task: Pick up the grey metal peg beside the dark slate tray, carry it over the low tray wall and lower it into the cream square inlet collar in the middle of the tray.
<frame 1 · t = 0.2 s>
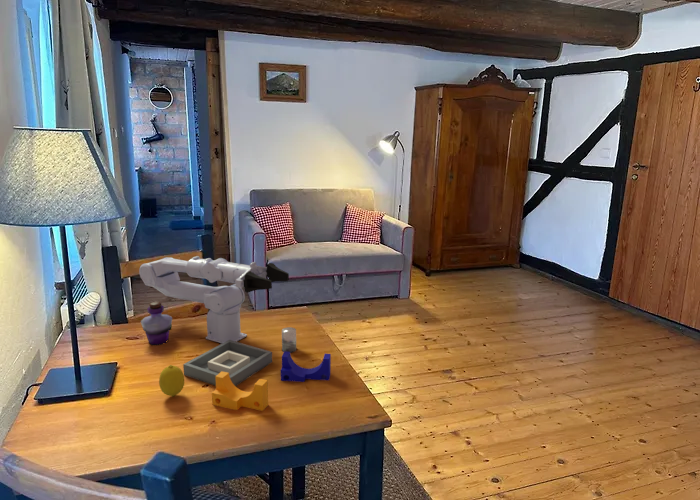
hand: (279, 280, 135), 21 cm above the table, tool horizontal, fingers open, 7 cm apart
lemon: (173, 397, 117), on the table
metal peg: (289, 349, 142), on the table
potion bottle: (158, 342, 146), on the table
walled tray: (229, 368, 131), on the table
blue cradle block: (305, 378, 127), on the table
pipe clamp: (240, 406, 114), on the table
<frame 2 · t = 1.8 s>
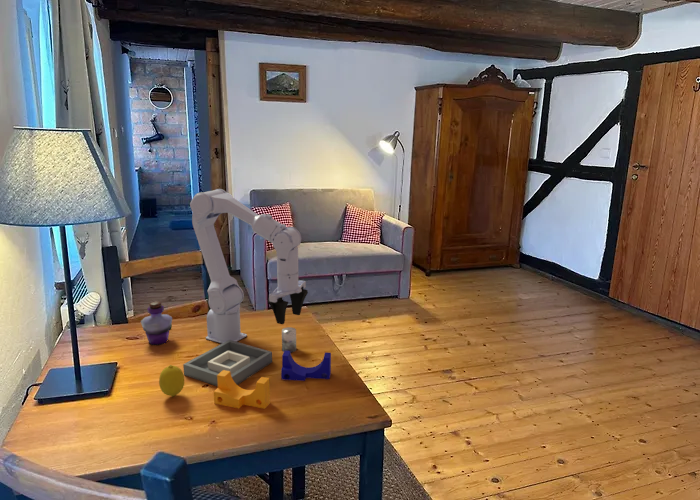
hand: (288, 318, 140), 9 cm above the table, tool pointing down, fingers open, 7 cm apart
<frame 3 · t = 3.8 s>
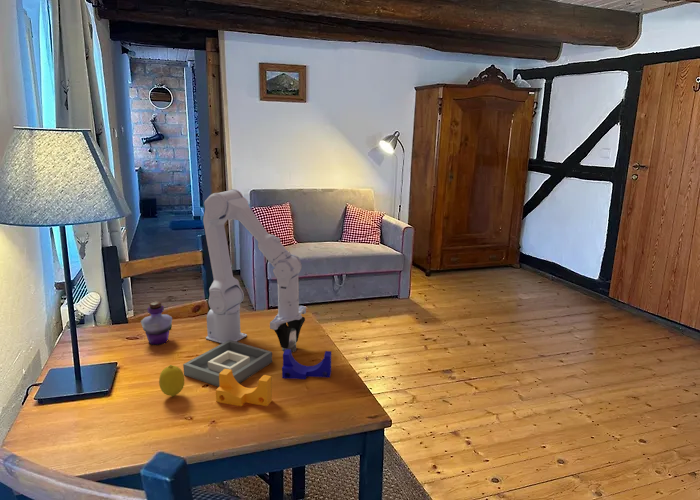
hand: (289, 344, 142), 2 cm above the table, tool pointing down, fingers closed on metal peg, 4 cm apart
metal peg: (289, 349, 142), on the table, touching gripper
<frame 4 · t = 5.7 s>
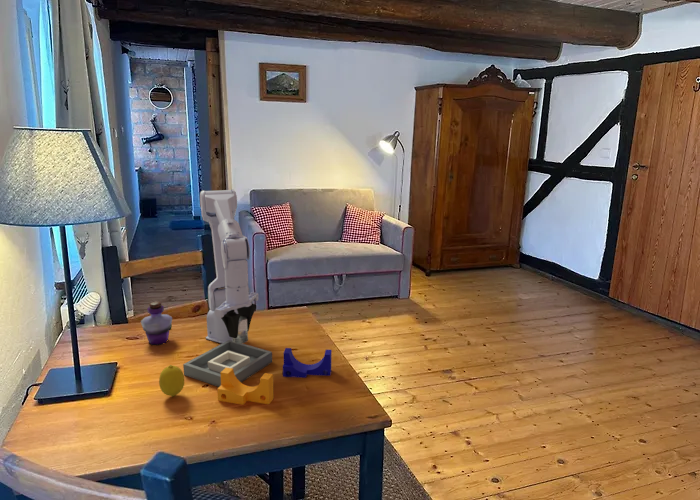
hand: (239, 333, 130), 9 cm above the table, tool pointing down, fingers closed on metal peg, 4 cm apart
metal peg: (240, 340, 131), point 7 cm above the table, touching gripper
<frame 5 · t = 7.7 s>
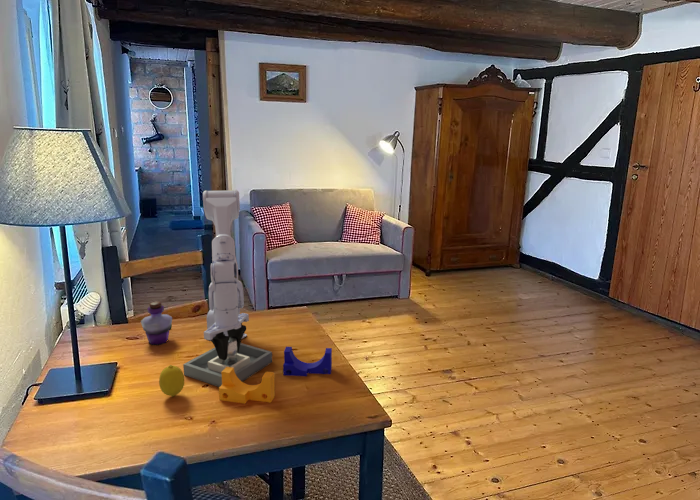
hand: (228, 355, 130), 4 cm above the table, tool pointing down, fingers closed on metal peg, 4 cm apart
metal peg: (229, 361, 130), point 2 cm above the table, touching gripper
pipe clamp: (247, 399, 117), on the table, touching walled tray
when the fingers open (4 cm above the table, at t = 7.8 s): metal peg drops 1 cm, resting on walled tray.
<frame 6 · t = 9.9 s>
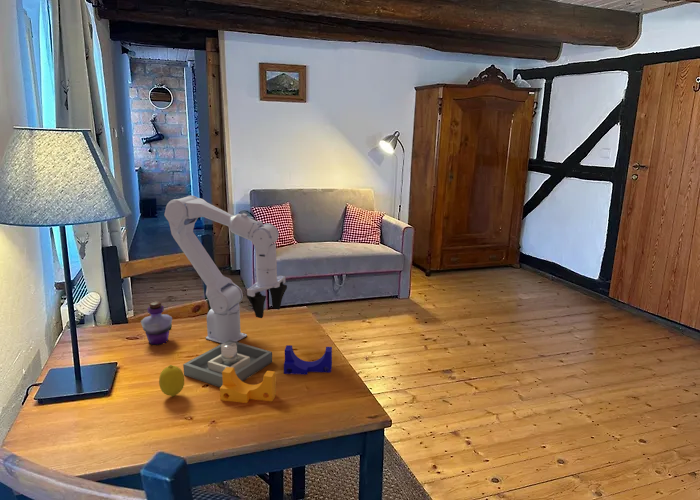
hand: (268, 312, 144), 9 cm above the table, tool pointing down, fingers open, 7 cm apart
metal peg: (230, 366, 131), point 1 cm above the table, touching walled tray
pipe clamp: (248, 399, 117), on the table
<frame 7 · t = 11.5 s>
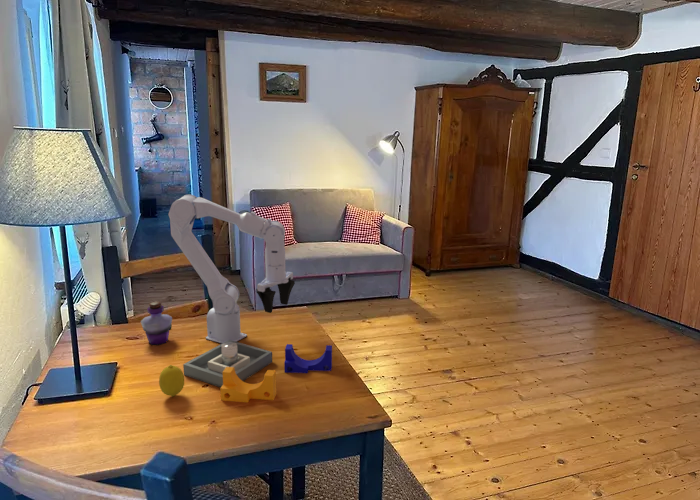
hand: (276, 307, 148), 9 cm above the table, tool pointing down, fingers open, 7 cm apart
at the end: metal peg 0.3 cm off-centre on the walled tray, point 0.6 cm above the walled tray's base; metal peg tilted 1°; the gripper is holding nothing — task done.
